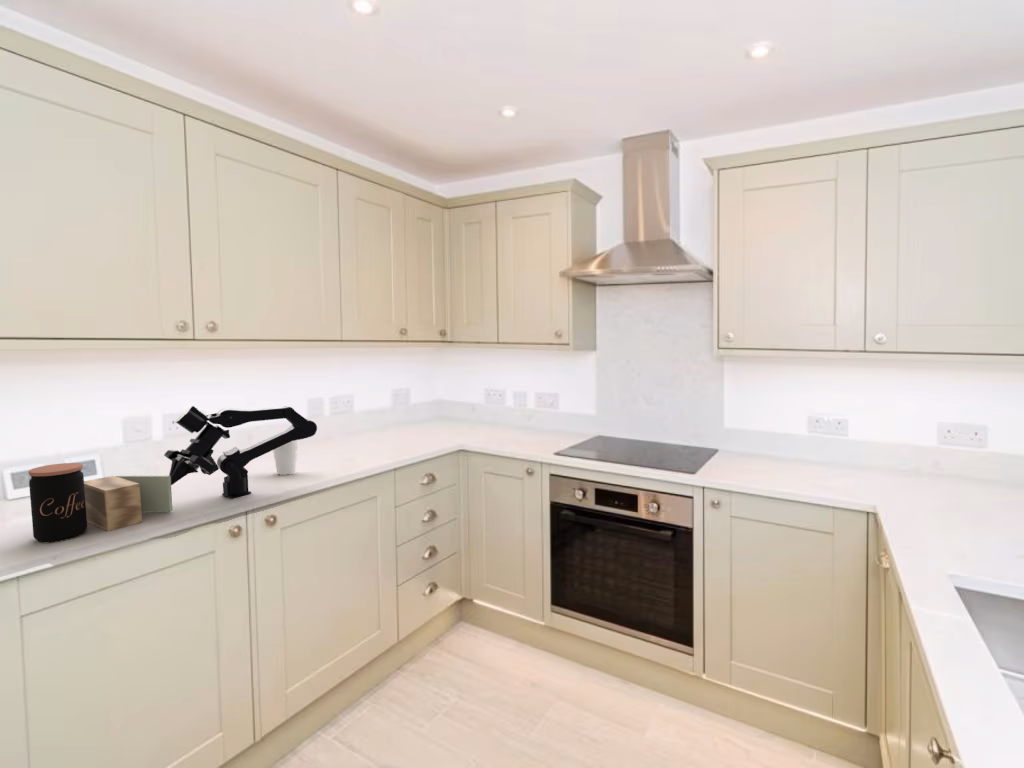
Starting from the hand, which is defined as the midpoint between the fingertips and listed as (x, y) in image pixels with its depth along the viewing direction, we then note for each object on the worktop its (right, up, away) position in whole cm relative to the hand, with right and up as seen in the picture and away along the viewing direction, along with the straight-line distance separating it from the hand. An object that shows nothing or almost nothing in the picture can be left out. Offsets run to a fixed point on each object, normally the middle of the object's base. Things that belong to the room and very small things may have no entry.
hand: (168, 484), depth 157 cm
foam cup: (+16, -4, +43) cm, 47 cm away
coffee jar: (-15, -10, -20) cm, 27 cm away
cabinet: (-10, -8, -10) cm, 16 cm away
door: (-6, -7, -1) cm, 10 cm away
